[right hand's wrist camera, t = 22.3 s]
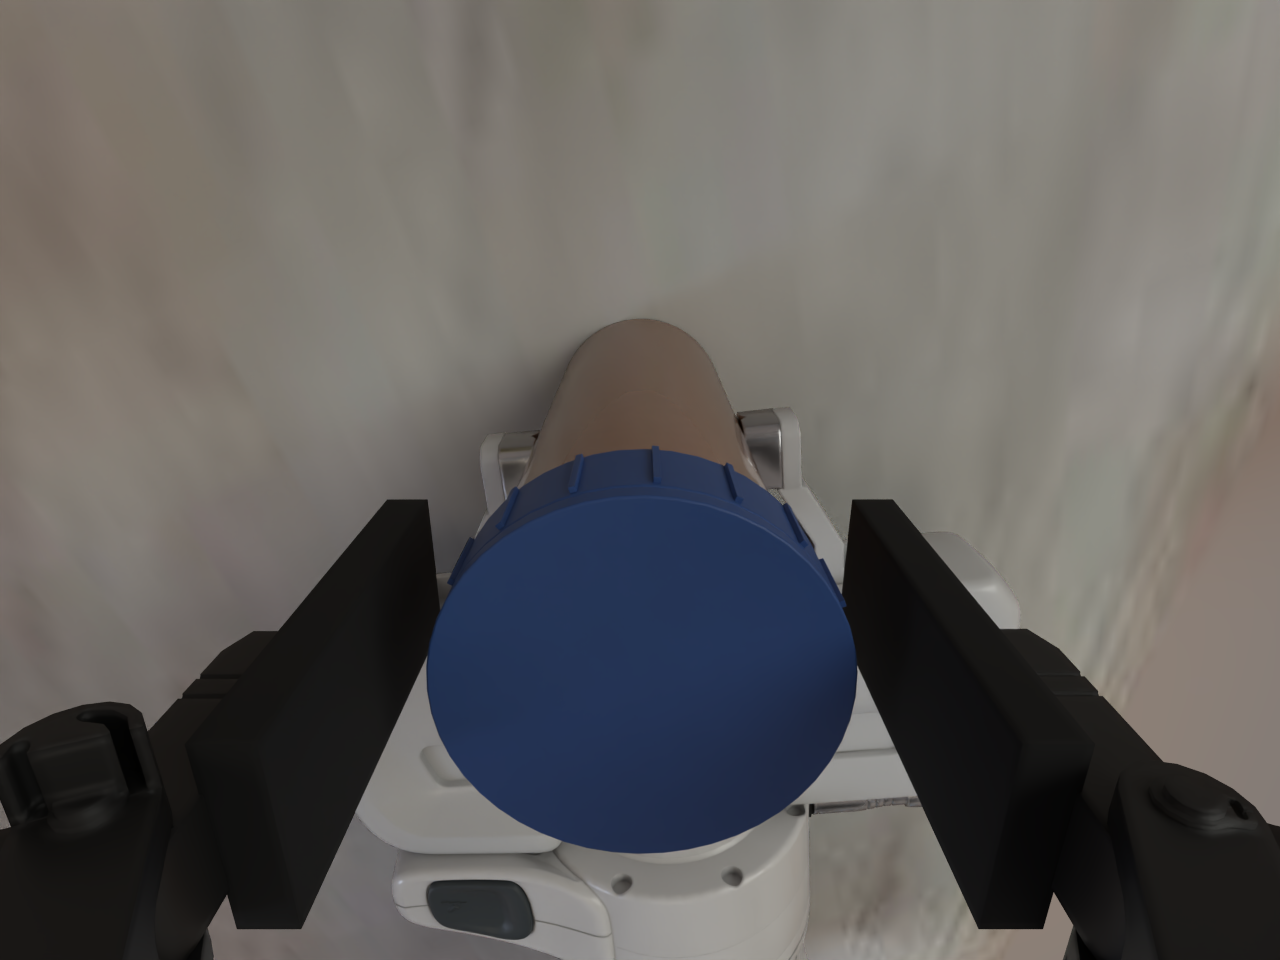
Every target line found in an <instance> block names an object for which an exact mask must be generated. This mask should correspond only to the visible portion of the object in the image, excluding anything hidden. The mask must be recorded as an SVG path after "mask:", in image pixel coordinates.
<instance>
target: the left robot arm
mask: <svg viewBox="0 0 1280 960" xmlns="http://www.w3.org/2000/svg"><path fill="white" fill-rule="evenodd" d="M736 418H737V421H738V423H739V425H740V428H741V430H742V432H743V435H744V437H745V439H746V442H747V444H748V446H749V448H750V451H751V453H752V455H753V458H754V460H755V462H756V465H757V467H758V469H759V472H760V474H761V476H762V479H763V481H764V483H765V486H766V488H767V489H777V490H778V492H779V493H780V495H781V496H782V498H783V499H784V501H785V502H786V503H788V504H789V505H790V506H791V508H792V510H793V513H794V515H795V517H796V519H797V521H798V523H799V525H800V526H801V528H802V530H803V531H804V533H805V535H806V536H807V538H808V539H809V541H810V543H811V544H812V547H813V549H814V551H815V553H816V555H817V557H818V559H821V558H824V560H825V562H826V564H827V566H828V568H829V570H830V572H831V574H832V576H833V578H834V580H835V582H836V584H837V586H838V588H839V590H840V592H841V594H842V586H843V577H844V569H845V560H846V551H847V542H848V540H842V539H841V537H840V536H839V534H838V532H837V530H836V529H835V527H834V525H833V524H832V522H831V520H830V518H829V517H828V515H827V513H826V511H825V510H824V509H823V507H822V506H821V504H820V503H819V501H818V500H817V498H816V497H815V495H814V494H813V492H812V491H811V489H810V488H809V486H808V485H807V483H806V482H805V480H804V479H803V477H802V474H801V432H800V427H799V421H798V418H797V416H796V415H795V414H794V412H793V411H792V409H791V408H790V407H785V408H774V409H763V410H753V411H743V412H737V415H736ZM539 433H540V430H538V431H524V432H511V433H505V432H503V433H496V434H489V435H487V437H486V438H485V440H484V441H483V443H482V445H481V446H480V468H481V474H482V479H483V485H484V490H485V496H486V501H487V507H488V508H487V510H486V512H485V514H484V516H483V518H482V521H481V523H480V526H479V528H478V530H477V533H476V535H475V538H476V536H477V535H478V533H479V532H480V530H481V529H482V527H483V526H484V524H485V523H486V521H487V520H488V519H489V517H490V516H491V515H492V514H493V513H494V512H495V511H496V510H497V509H498V508H499V507H500V505H501V504H502V503H503V502H504V501H505V500H506V499H507V497H508V495H509V493H510V491H511V489H512V488H514V487H515V486H516V487H517V485H518V482H519V480H520V478H521V475H522V473H523V471H524V468H525V466H526V463H527V461H528V459H529V456H530V454H531V452H532V449H533V447H534V445H535V442H536V440H537V437H538V435H539ZM921 534H922V536H923V537H924V538H925V539H926V540H927V542H928V543H929V544H930V545H931V546H932V548H933V549H934V550H935V551H936V552H937V554H938V555H939V556H940V557H941V558H942V560H943V561H944V562H945V563H946V565H947V566H948V567H949V568H950V569H951V571H952V572H953V573H954V574H955V575H956V577H957V578H958V579H959V580H960V581H961V583H962V584H963V585H964V586H965V587H966V589H967V590H968V591H969V592H970V593H971V595H972V596H973V597H974V598H975V599H976V601H977V602H978V603H979V604H980V606H981V607H982V608H983V609H984V610H985V612H986V613H987V614H988V615H989V616H990V618H991V619H992V620H993V621H994V622H995V624H996V625H997V626H998V627H999V628H1000V629H1019V628H1020V620H1021V613H1020V606H1019V602H1018V599H1017V598H1016V596H1015V594H1014V592H1013V590H1012V589H1011V587H1010V586H1009V585H1008V583H1007V582H1006V581H1005V579H1004V578H1003V577H1002V576H1001V574H1000V573H999V572H998V571H997V570H996V569H995V567H994V566H993V565H992V564H991V563H990V562H989V561H988V560H987V559H986V558H985V557H984V556H983V555H981V554H980V553H979V552H978V551H977V550H976V549H975V548H973V547H972V546H971V545H970V544H969V543H968V542H966V541H965V540H964V539H963V538H962V537H960V536H959V535H957V534H954V533H951V532H931V533H921ZM475 538H474V539H475ZM450 575H451V573H440V574H436V577H437V586H438V595H439V603H440V610H441V608H442V606H443V604H444V602H445V600H446V598H447V596H448V593H449V591H450V589H451V587H452V586H451V585H449V584H447V581H448V579H449V577H450ZM427 656H428V655H427ZM426 663H427V658H426V660H425V662H424V664H423V666H422V668H421V671H420V673H419V675H418V677H417V679H416V681H415V684H414V686H413V688H412V690H411V692H410V694H409V697H408V699H407V701H406V703H405V705H404V707H403V710H402V712H401V714H400V716H399V718H398V720H397V723H396V725H395V727H394V729H393V731H392V733H391V736H390V738H389V740H388V742H387V744H386V746H385V749H384V751H383V753H382V755H381V757H380V759H379V762H378V764H377V766H376V768H375V770H374V772H373V775H372V777H371V779H370V781H369V783H368V785H367V788H366V790H365V792H364V794H363V796H362V798H361V801H360V803H359V805H358V807H357V809H356V811H355V814H356V815H357V817H358V818H359V819H360V821H361V822H362V823H363V824H364V825H365V826H366V827H367V829H368V830H369V831H370V832H372V833H373V834H374V835H375V836H376V837H378V838H379V839H381V840H382V841H384V842H386V843H387V844H389V845H391V846H393V847H396V848H399V851H398V855H397V860H396V865H395V869H394V874H393V879H392V886H391V888H392V895H393V899H394V903H395V905H396V908H397V910H398V911H399V913H400V914H401V915H402V916H403V917H404V918H405V919H406V920H408V921H410V922H412V923H414V924H417V925H420V926H424V927H429V928H435V929H441V930H447V931H453V932H460V933H465V934H471V935H476V936H481V937H486V938H491V939H495V940H500V941H504V942H508V943H512V944H516V945H520V946H524V947H527V948H530V949H533V950H537V951H540V952H543V953H546V954H548V955H551V956H554V957H556V958H559V959H562V960H808V956H807V953H806V949H805V946H804V943H803V941H804V938H805V935H806V932H807V926H808V919H809V913H810V857H809V846H810V838H809V817H811V814H818V813H819V814H825V813H839V812H853V811H860V810H866V809H872V808H874V807H881V806H883V805H884V806H890V805H891V804H892V805H903V804H904V805H905V806H907V807H922V805H921V803H920V801H919V798H918V796H917V794H916V792H915V790H914V788H913V785H912V783H911V781H910V779H909V777H908V775H907V772H906V770H905V768H904V766H903V764H902V762H901V759H900V757H899V755H898V753H897V751H896V749H895V746H894V744H893V742H892V740H891V738H890V736H889V733H888V731H887V729H886V727H885V725H884V723H883V720H882V718H881V716H880V714H879V712H878V710H877V707H876V705H875V703H874V701H873V699H872V697H871V694H870V692H869V690H868V688H867V686H866V684H865V681H864V679H863V677H862V675H861V673H860V671H859V668H858V666H857V671H858V675H857V688H856V698H855V702H854V707H853V711H852V715H851V719H850V722H849V725H848V727H847V730H846V732H845V735H844V737H843V740H842V742H841V744H840V746H839V747H838V749H837V751H836V753H835V754H834V756H833V758H832V759H831V761H830V763H829V764H828V765H827V767H826V768H825V769H824V770H823V772H822V773H821V774H820V776H819V777H818V778H817V780H816V781H815V782H814V783H813V784H812V785H811V786H810V787H809V788H808V789H807V790H806V791H805V792H804V793H803V794H802V795H801V796H800V797H799V798H798V799H796V800H795V801H794V802H792V803H791V804H790V805H789V806H787V807H786V808H785V809H783V810H782V811H781V812H780V813H778V814H776V815H775V816H773V817H771V818H770V819H768V820H766V821H765V822H763V823H762V824H760V825H758V826H756V827H754V828H752V829H750V830H747V831H745V832H743V833H741V834H739V835H737V836H734V837H731V838H728V839H725V840H723V841H720V842H717V843H714V844H710V845H706V846H702V847H697V848H693V849H689V850H682V851H674V852H667V853H649V854H632V853H616V852H608V851H602V850H596V849H589V848H585V847H581V846H578V845H574V844H570V843H566V842H563V841H560V840H558V839H555V838H552V837H550V836H547V835H545V834H542V833H539V832H538V831H536V830H534V829H532V828H530V827H528V826H526V825H524V824H522V823H520V822H518V821H516V820H515V819H513V818H512V817H510V816H509V815H507V814H506V813H504V812H503V811H501V810H500V809H498V808H497V807H496V806H495V805H493V804H492V803H491V802H490V801H489V800H487V799H486V798H485V797H484V796H483V795H481V794H480V793H479V792H478V791H477V790H476V789H475V787H474V786H473V785H472V784H471V783H470V782H469V781H468V780H467V779H466V778H465V777H464V776H463V774H462V773H461V772H460V770H459V769H458V767H457V766H456V764H455V763H454V762H453V760H452V759H451V757H450V756H449V754H448V752H447V750H446V748H445V746H444V744H443V742H442V741H441V739H440V737H439V734H438V732H437V729H436V726H435V723H434V720H433V717H432V714H431V710H430V704H429V699H428V693H427V680H426Z"/></svg>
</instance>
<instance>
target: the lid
mask: <svg viewBox="0 0 1280 960" xmlns="http://www.w3.org/2000/svg"><path fill="white" fill-rule="evenodd" d="M447 584H449V585H451V586H452V587H451V589H450V591H449V593H448V596H447V598H446V600H445V602H444V604H443V606H442V608H441V610H440V612H439V614H438V616H437V618H436V622H435V625H434V628H433V632H432V635H431V638H430V642H429V648H428V656H427V663H426V680H427V693H428V699H429V704H430V710H431V714H432V717H433V720H434V723H435V726H436V729H437V732H438V734H439V737H440V739H441V741H442V742H443V744H444V746H445V748H446V750H447V752H448V754H449V756H450V757H451V759H452V760H453V762H454V763H455V764H456V766H457V767H458V769H459V770H460V772H461V773H462V774H463V776H464V777H465V778H466V779H467V780H468V781H469V782H470V783H471V784H472V785H473V786H474V787H475V789H476V790H477V791H478V792H479V793H480V794H481V795H483V796H484V797H485V798H486V799H487V800H489V801H490V802H491V803H492V804H493V805H495V806H496V807H497V808H498V809H500V810H501V811H503V812H504V813H506V814H507V815H509V816H510V817H512V818H513V819H515V820H516V821H518V822H520V823H522V824H524V825H526V826H528V827H530V828H532V829H534V830H536V831H538V832H539V833H542V834H545V835H547V836H550V837H552V838H555V839H558V840H560V841H563V842H566V843H570V844H574V845H578V846H581V847H585V848H589V849H596V850H602V851H608V852H616V853H632V854H649V853H667V852H674V851H682V850H689V849H693V848H697V847H702V846H706V845H710V844H714V843H717V842H720V841H723V840H725V839H728V838H731V837H734V836H737V835H739V834H741V833H743V832H745V831H747V830H750V829H752V828H754V827H756V826H758V825H760V824H762V823H763V822H765V821H766V820H768V819H770V818H771V817H773V816H775V815H776V814H778V813H780V812H781V811H782V810H783V809H785V808H786V807H787V806H789V805H790V804H791V803H792V802H794V801H795V800H796V799H798V798H799V797H800V796H801V795H802V794H803V793H804V792H805V791H806V790H807V789H808V788H809V787H810V786H811V785H812V784H813V783H814V782H815V781H816V780H817V778H818V777H819V776H820V774H821V773H822V772H823V770H824V769H825V768H826V767H827V765H828V764H829V763H830V761H831V759H832V758H833V756H834V754H835V753H836V751H837V749H838V747H839V746H840V744H841V742H842V740H843V737H844V735H845V732H846V730H847V727H848V725H849V722H850V719H851V715H852V711H853V707H854V702H855V698H856V688H857V675H858V671H857V660H856V649H855V645H854V641H853V637H852V633H851V629H850V625H849V623H848V620H847V618H846V616H845V613H844V611H843V607H846V606H847V605H846V603H845V600H844V598H843V596H842V594H841V592H840V590H839V588H838V586H837V584H836V582H835V580H834V578H833V576H832V574H831V572H830V570H829V568H828V566H827V564H826V562H825V560H824V558H821V559H818V557H817V555H816V553H815V551H814V549H813V547H812V544H811V543H810V541H809V539H808V538H807V536H806V535H805V533H804V531H803V530H802V528H801V526H800V525H799V523H798V521H797V519H796V517H795V515H794V513H793V510H792V508H791V506H790V505H789V504H788V503H785V504H784V505H782V504H781V503H780V502H779V501H778V500H776V499H775V498H774V497H773V496H772V495H771V494H770V493H769V492H767V491H766V490H765V489H764V488H762V487H761V486H759V485H758V484H756V483H755V482H753V481H752V480H750V479H749V478H747V477H746V476H744V475H742V474H740V473H738V472H736V471H734V468H733V465H731V464H729V463H726V464H725V466H724V465H721V464H718V463H715V462H713V461H710V460H707V459H704V458H701V457H698V456H693V455H688V454H684V453H679V452H674V451H665V450H659V446H652V449H633V450H617V451H611V452H605V453H599V454H593V455H590V456H586V457H583V454H579V455H576V457H575V460H573V461H570V462H567V463H565V464H563V465H560V466H558V467H556V468H554V469H551V470H549V471H547V472H545V473H543V474H541V475H540V476H538V477H537V478H535V479H533V480H532V481H530V482H528V483H527V484H525V485H524V486H522V487H521V488H520V489H518V488H517V487H516V486H515V487H514V488H512V489H511V491H510V493H509V495H508V497H507V499H506V500H505V501H504V502H503V503H502V504H501V505H500V507H499V508H498V509H497V510H496V511H495V512H494V513H493V514H492V515H491V516H490V517H489V519H488V520H487V521H486V523H485V524H484V526H483V527H482V529H481V530H480V532H479V533H478V535H477V536H476V538H475V539H473V538H471V537H470V538H469V540H468V541H467V543H466V545H465V547H464V549H463V551H462V553H461V555H460V557H459V559H458V561H457V563H456V565H455V567H454V569H453V571H452V573H451V575H450V577H449V579H448V581H447Z"/></svg>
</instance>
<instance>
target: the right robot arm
mask: <svg viewBox="0 0 1280 960" xmlns="http://www.w3.org/2000/svg"><path fill="white" fill-rule="evenodd" d="M842 596H843V598H844V600H845V603H846V605H847V606H846V607H843V611H844V613H845V616H846V618H847V620H848V623H849V625H850V629H851V633H852V637H853V641H854V645H855V649H856V660H857V666H858V668H859V671H860V673H861V675H862V677H863V679H864V681H865V684H866V686H867V688H868V690H869V692H870V694H871V697H872V699H873V701H874V703H875V705H876V707H877V710H878V712H879V714H880V716H881V718H882V720H883V723H884V725H885V727H886V729H887V731H888V733H889V736H890V738H891V740H892V742H893V744H894V746H895V749H896V751H897V753H898V755H899V757H900V759H901V762H902V764H903V766H904V768H905V770H906V772H907V775H908V777H909V779H910V781H911V783H912V785H913V788H914V790H915V792H916V794H917V796H918V798H919V801H920V803H921V805H922V807H923V809H924V811H925V814H926V816H927V818H928V820H929V822H930V824H931V827H932V829H933V831H934V833H935V835H936V837H937V840H938V842H939V844H940V846H941V848H942V851H943V853H944V855H945V857H946V859H947V861H948V864H949V866H950V868H951V870H952V872H953V874H954V877H955V879H956V881H957V883H958V885H959V887H960V890H961V892H962V894H963V896H964V898H965V900H966V903H967V905H968V907H969V909H970V911H971V913H972V916H973V918H974V920H975V922H976V924H977V926H978V929H1043V927H1044V924H1045V920H1046V917H1047V913H1048V909H1049V906H1050V902H1051V899H1052V895H1053V892H1054V893H1055V895H1056V896H1057V898H1058V900H1059V902H1060V903H1061V905H1062V907H1063V908H1064V910H1065V912H1066V913H1067V915H1068V917H1069V918H1070V920H1071V922H1072V924H1073V929H1072V932H1071V935H1070V938H1069V942H1068V945H1067V948H1066V952H1065V955H1064V958H1063V960H1280V827H1279V826H1275V825H1272V824H1268V823H1266V821H1265V820H1264V818H1263V817H1262V816H1261V814H1260V813H1259V811H1258V810H1257V809H1256V807H1255V806H1254V805H1252V804H1251V803H1250V802H1249V801H1247V800H1246V799H1245V798H1244V797H1242V796H1241V795H1240V794H1239V793H1237V792H1236V791H1235V790H1234V789H1232V788H1231V787H1229V786H1227V785H1225V784H1223V783H1221V782H1220V781H1218V780H1216V779H1214V778H1212V777H1210V776H1208V775H1207V774H1205V773H1202V772H1199V771H1196V770H1193V769H1190V768H1187V767H1184V766H1181V765H1178V764H1173V763H1166V762H1163V761H1162V760H1161V759H1160V758H1159V757H1158V756H1157V755H1156V753H1155V752H1154V751H1153V750H1152V749H1151V748H1150V747H1149V746H1148V745H1147V744H1146V743H1145V742H1144V740H1143V739H1142V738H1141V737H1140V736H1139V735H1138V734H1137V733H1136V732H1135V731H1134V730H1133V729H1132V727H1131V726H1130V725H1129V724H1128V723H1127V722H1126V721H1125V720H1124V719H1123V718H1122V717H1121V715H1120V714H1119V713H1118V712H1117V711H1116V710H1115V709H1114V708H1113V707H1112V706H1111V705H1110V704H1109V702H1108V701H1107V700H1106V699H1105V698H1104V697H1103V696H1099V695H1098V691H1097V689H1096V688H1095V687H1094V686H1093V685H1092V684H1091V683H1090V682H1089V681H1088V680H1087V679H1086V678H1085V676H1081V675H1080V671H1079V670H1078V669H1077V668H1076V667H1075V666H1074V665H1073V663H1072V662H1071V661H1070V660H1069V659H1068V658H1067V657H1066V656H1065V655H1064V654H1063V653H1062V652H1061V650H1060V649H1059V648H1057V647H1055V646H1054V645H1052V644H1050V643H1049V642H1047V641H1046V640H1044V639H1042V638H1041V637H1039V636H1038V635H1036V634H1034V633H1033V632H1031V631H1030V630H1028V629H1000V628H999V627H998V626H997V625H996V624H995V622H994V621H993V620H992V619H991V618H990V616H989V615H988V614H987V613H986V612H985V610H984V609H983V608H982V607H981V606H980V604H979V603H978V602H977V601H976V599H975V598H974V597H973V596H972V595H971V593H970V592H969V591H968V590H967V589H966V587H965V586H964V585H963V584H962V583H961V581H960V580H959V579H958V578H957V577H956V575H955V574H954V573H953V572H952V571H951V569H950V568H949V567H948V566H947V565H946V563H945V562H944V561H943V560H942V558H941V557H940V556H939V555H938V554H937V552H936V551H935V550H934V549H933V548H932V546H931V545H930V544H929V543H928V542H927V540H926V539H925V538H924V537H923V536H922V534H921V533H920V532H919V531H918V530H917V528H916V527H915V526H914V525H913V523H912V522H911V521H910V520H909V519H908V517H907V516H906V515H905V514H904V513H903V511H902V510H901V509H900V508H899V507H898V505H897V504H896V503H895V502H894V501H893V500H852V508H851V516H850V525H849V534H848V542H847V551H846V560H845V569H844V577H843V586H842ZM439 612H440V603H439V595H438V586H437V577H436V569H435V560H434V551H433V542H432V534H431V525H430V516H429V508H428V500H387V501H386V502H385V503H384V504H383V505H382V507H381V508H380V509H379V510H378V511H377V513H376V514H375V515H374V516H373V517H372V519H371V520H370V521H369V522H368V523H367V525H366V526H365V527H364V528H363V530H362V531H361V532H360V533H359V534H358V536H357V537H356V538H355V539H354V540H353V542H352V543H351V544H350V545H349V546H348V548H347V549H346V550H345V551H344V552H343V554H342V555H341V556H340V557H339V558H338V560H337V561H336V562H335V563H334V565H333V566H332V567H331V568H330V569H329V571H328V572H327V573H326V574H325V575H324V577H323V578H322V579H321V580H320V581H319V583H318V584H317V585H316V586H315V587H314V589H313V590H312V591H311V592H310V593H309V595H308V596H307V597H306V598H305V599H304V601H303V602H302V603H301V604H300V606H299V607H298V608H297V609H296V610H295V612H294V613H293V614H292V615H291V616H290V618H289V619H288V620H287V621H286V622H285V624H284V625H283V626H282V627H281V628H280V630H279V631H253V632H252V633H250V634H248V635H247V636H245V637H244V638H242V639H240V640H239V641H237V642H236V643H234V644H232V645H231V646H229V647H228V648H226V649H224V650H223V651H221V652H220V654H219V655H218V656H217V657H216V658H215V659H214V660H213V661H212V662H211V663H210V664H209V666H208V667H207V668H206V669H205V670H204V671H203V672H202V673H201V674H200V675H201V676H200V679H196V680H195V681H194V682H193V683H192V684H191V685H190V686H189V687H188V688H187V690H186V691H185V692H184V693H183V697H182V699H177V700H176V702H175V703H174V704H173V705H172V706H171V707H170V708H169V709H168V710H167V711H166V712H165V714H164V715H163V716H162V717H161V718H160V719H159V720H158V721H157V722H156V723H155V724H154V726H153V727H152V728H151V729H150V730H149V731H148V732H147V728H146V725H145V722H144V718H143V715H142V713H141V712H140V711H139V710H137V709H136V708H134V707H133V706H132V705H130V704H124V703H116V702H102V703H94V704H86V705H81V706H78V707H74V708H71V709H68V710H64V711H61V712H58V713H54V714H52V715H50V716H48V717H46V718H44V719H41V720H39V721H37V722H35V723H33V724H31V725H29V726H27V727H25V728H23V729H22V730H20V731H19V732H17V733H16V734H15V735H13V736H12V737H10V738H9V739H8V740H6V741H5V742H3V743H2V744H0V801H1V803H2V806H3V808H4V811H5V813H6V815H7V818H8V820H9V823H10V825H11V827H10V828H6V829H2V830H0V960H213V957H214V956H213V950H212V943H211V938H210V935H209V932H208V929H207V927H208V926H209V924H210V922H211V921H212V919H213V917H214V916H215V914H216V912H217V911H218V909H219V907H220V905H221V904H222V902H223V900H224V899H225V897H226V895H228V899H229V903H230V906H231V910H232V913H233V917H234V920H235V924H236V927H237V929H302V926H303V924H304V922H305V920H306V918H307V916H308V913H309V911H310V909H311V907H312V905H313V903H314V900H315V898H316V896H317V894H318V892H319V890H320V887H321V885H322V883H323V881H324V879H325V877H326V874H327V872H328V870H329V868H330V866H331V864H332V861H333V859H334V857H335V855H336V853H337V851H338V848H339V846H340V844H341V842H342V840H343V837H344V835H345V833H346V831H347V829H348V827H349V824H350V822H351V820H352V818H353V816H354V814H355V811H356V809H357V807H358V805H359V803H360V801H361V798H362V796H363V794H364V792H365V790H366V788H367V785H368V783H369V781H370V779H371V777H372V775H373V772H374V770H375V768H376V766H377V764H378V762H379V759H380V757H381V755H382V753H383V751H384V749H385V746H386V744H387V742H388V740H389V738H390V736H391V733H392V731H393V729H394V727H395V725H396V723H397V720H398V718H399V716H400V714H401V712H402V710H403V707H404V705H405V703H406V701H407V699H408V697H409V694H410V692H411V690H412V688H413V686H414V684H415V681H416V679H417V677H418V675H419V673H420V671H421V668H422V666H423V664H424V662H425V660H426V658H427V655H428V648H429V642H430V638H431V635H432V632H433V628H434V625H435V622H436V618H437V616H438V614H439Z"/></svg>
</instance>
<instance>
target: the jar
mask: <svg viewBox="0 0 1280 960" xmlns="http://www.w3.org/2000/svg"><path fill="white" fill-rule="evenodd" d="M652 446H659V450H665V451H674V452H679V453H684V454H688V455H693V456H698V457H701V458H704V459H707V460H710V461H713V462H715V463H718V464H721V465H724V466H725V464H726V463H729V464H731V465H733V468H734V471H736V472H738V473H740V474H742V475H744V476H746V477H747V478H749V479H750V480H752V481H753V482H755V483H756V484H758V485H759V486H761V487H762V488H764V489H765V490H766V491H767V492H768V490H767V488H766V486H765V483H764V481H763V479H762V476H761V474H760V472H759V469H758V467H757V465H756V462H755V460H754V458H753V455H752V453H751V451H750V448H749V446H748V444H747V442H746V439H745V437H744V435H743V432H742V430H741V428H740V425H739V423H738V421H737V418H736V416H735V414H734V411H733V409H732V407H731V404H730V402H729V400H728V397H727V395H726V393H725V391H724V388H723V386H722V384H721V381H720V379H719V377H718V374H717V372H716V370H715V367H714V365H713V363H712V361H711V359H710V358H709V356H708V354H707V353H706V352H705V350H704V349H703V347H702V346H701V345H700V344H699V343H698V342H697V341H696V340H695V339H694V338H692V337H691V336H690V335H689V334H687V333H686V332H684V331H682V330H681V329H679V328H677V327H675V326H673V325H670V324H668V323H664V322H661V321H657V320H650V319H632V320H625V321H621V322H617V323H614V324H611V325H609V326H607V327H604V328H603V329H601V330H599V331H597V332H596V333H594V334H593V335H592V336H591V337H589V338H588V339H587V340H586V341H585V342H584V343H583V344H582V345H581V346H580V347H579V348H578V350H577V351H576V352H575V354H574V355H573V357H572V359H571V361H570V362H569V364H568V367H567V369H566V371H565V374H564V376H563V378H562V381H561V383H560V385H559V388H558V390H557V393H556V395H555V397H554V400H553V402H552V404H551V407H550V409H549V411H548V414H547V416H546V419H545V421H544V423H543V426H542V428H541V430H540V433H539V435H538V437H537V440H536V442H535V445H534V447H533V449H532V452H531V454H530V456H529V459H528V461H527V463H526V466H525V468H524V471H523V473H522V475H521V478H520V480H519V482H518V485H517V488H518V489H520V488H521V487H522V486H524V485H525V484H527V483H528V482H530V481H532V480H533V479H535V478H537V477H538V476H540V475H541V474H543V473H545V472H547V471H549V470H551V469H554V468H556V467H558V466H560V465H563V464H565V463H567V462H570V461H573V460H575V457H576V455H579V454H583V457H586V456H590V455H593V454H599V453H605V452H611V451H617V450H633V449H652Z"/></svg>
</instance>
